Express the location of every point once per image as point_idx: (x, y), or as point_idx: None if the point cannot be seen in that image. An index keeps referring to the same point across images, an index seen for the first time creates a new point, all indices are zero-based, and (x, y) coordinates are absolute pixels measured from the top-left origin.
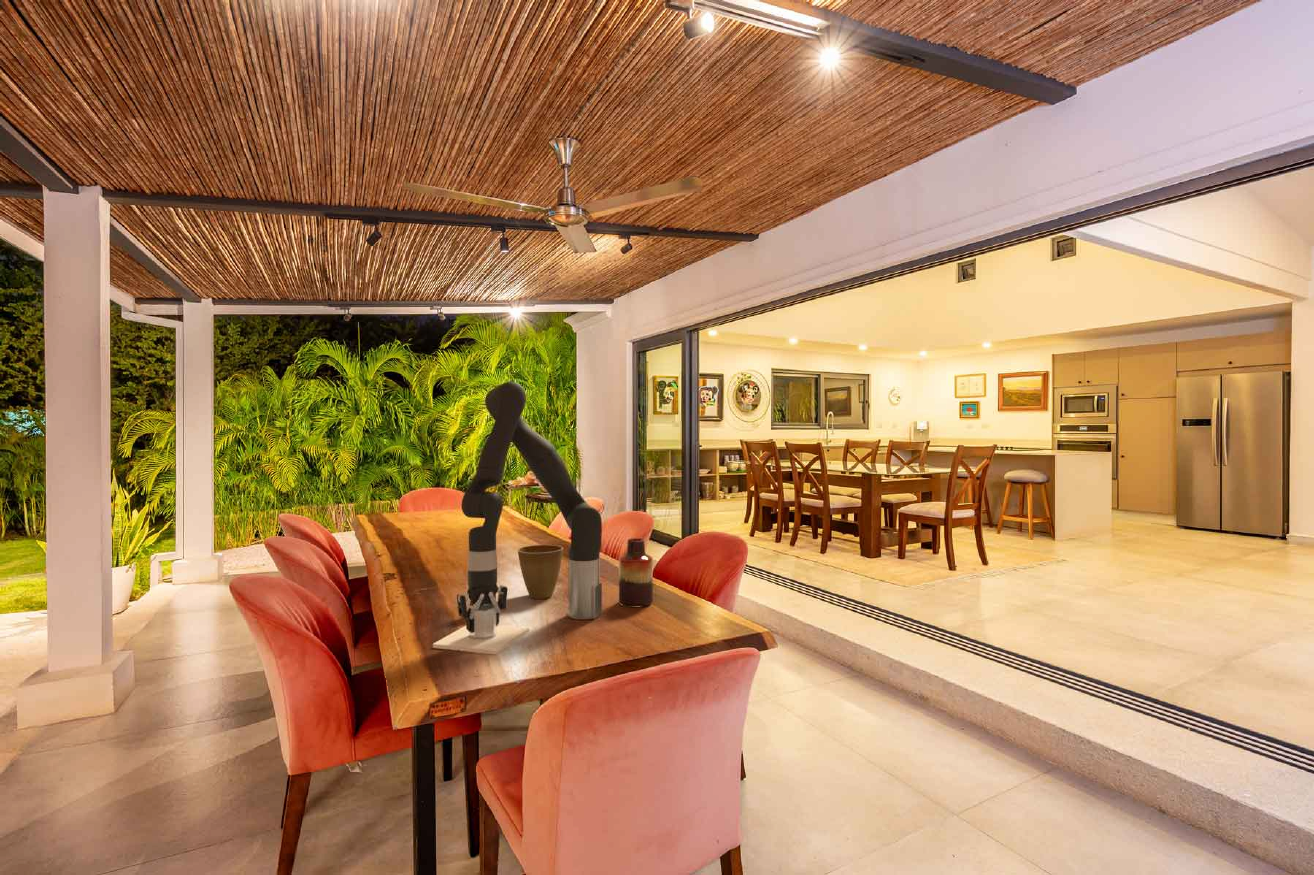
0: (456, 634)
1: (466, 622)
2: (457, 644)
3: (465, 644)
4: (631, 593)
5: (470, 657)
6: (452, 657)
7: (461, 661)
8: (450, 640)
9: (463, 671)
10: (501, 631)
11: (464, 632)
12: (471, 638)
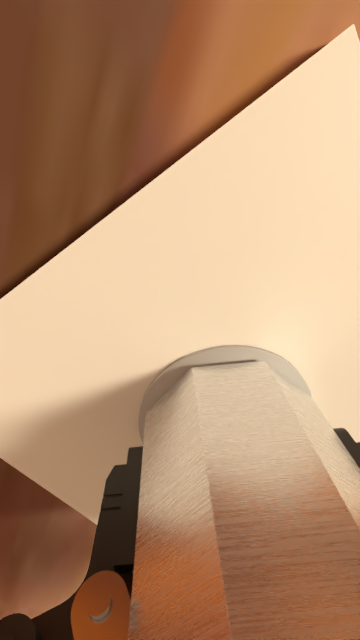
0: (87, 301)
1: (97, 534)
2: (44, 463)
3: (84, 481)
4: None
5: (77, 540)
6: (6, 513)
7: (34, 553)
8: (18, 389)
9: (21, 605)
10: (348, 414)
11: (156, 295)
12: (142, 439)
